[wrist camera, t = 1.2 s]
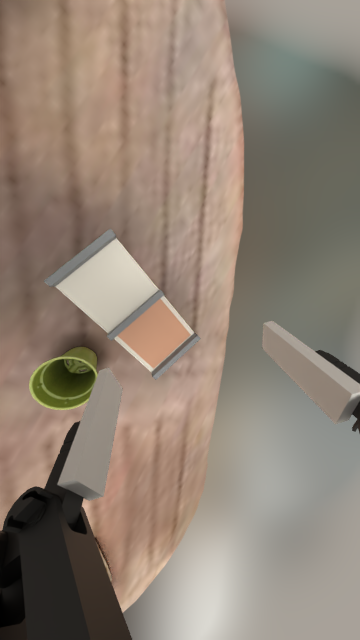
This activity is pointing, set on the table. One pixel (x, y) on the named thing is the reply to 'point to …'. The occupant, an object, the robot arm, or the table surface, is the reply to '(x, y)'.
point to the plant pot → (65, 380)
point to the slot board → (125, 303)
